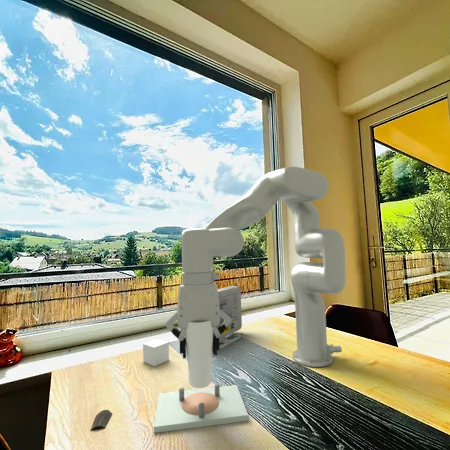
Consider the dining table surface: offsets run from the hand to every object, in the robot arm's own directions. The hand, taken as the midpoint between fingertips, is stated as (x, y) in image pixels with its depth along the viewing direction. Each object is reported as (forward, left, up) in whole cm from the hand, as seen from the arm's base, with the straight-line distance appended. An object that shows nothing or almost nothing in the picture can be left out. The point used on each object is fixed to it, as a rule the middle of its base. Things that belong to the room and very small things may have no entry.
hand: (199, 354), depth 66 cm
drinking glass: (0, 0, -7) cm, 7 cm away
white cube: (+13, -30, -13) cm, 35 cm away
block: (+22, 0, -13) cm, 26 cm away
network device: (-11, -44, -13) cm, 47 cm away
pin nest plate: (0, 0, -12) cm, 12 cm away
